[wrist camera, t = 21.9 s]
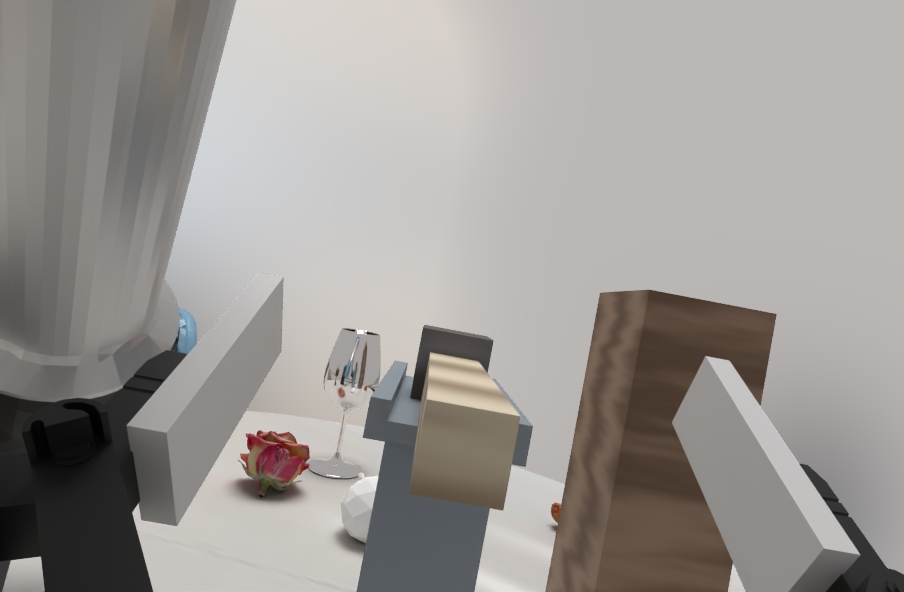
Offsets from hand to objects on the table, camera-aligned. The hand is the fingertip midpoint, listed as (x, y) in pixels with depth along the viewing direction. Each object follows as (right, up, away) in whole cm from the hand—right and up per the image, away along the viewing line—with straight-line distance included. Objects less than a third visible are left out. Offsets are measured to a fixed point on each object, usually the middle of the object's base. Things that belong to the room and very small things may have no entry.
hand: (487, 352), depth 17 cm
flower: (-23, -22, +49) cm, 58 cm away
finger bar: (-1, -5, +10) cm, 11 cm away
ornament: (-10, -24, +40) cm, 48 cm away
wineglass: (-18, -23, +60) cm, 66 cm away
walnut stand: (+13, -28, +29) cm, 43 cm away
